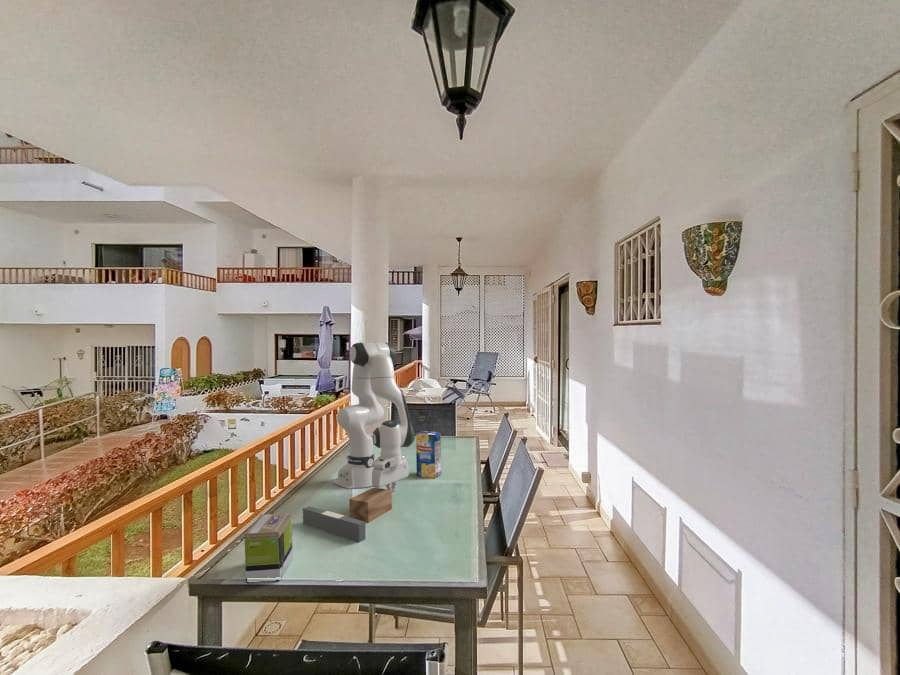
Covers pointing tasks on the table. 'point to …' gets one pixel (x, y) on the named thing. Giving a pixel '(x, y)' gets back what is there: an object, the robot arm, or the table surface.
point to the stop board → (334, 523)
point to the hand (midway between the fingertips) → (391, 492)
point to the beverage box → (428, 454)
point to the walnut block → (370, 504)
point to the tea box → (268, 546)
